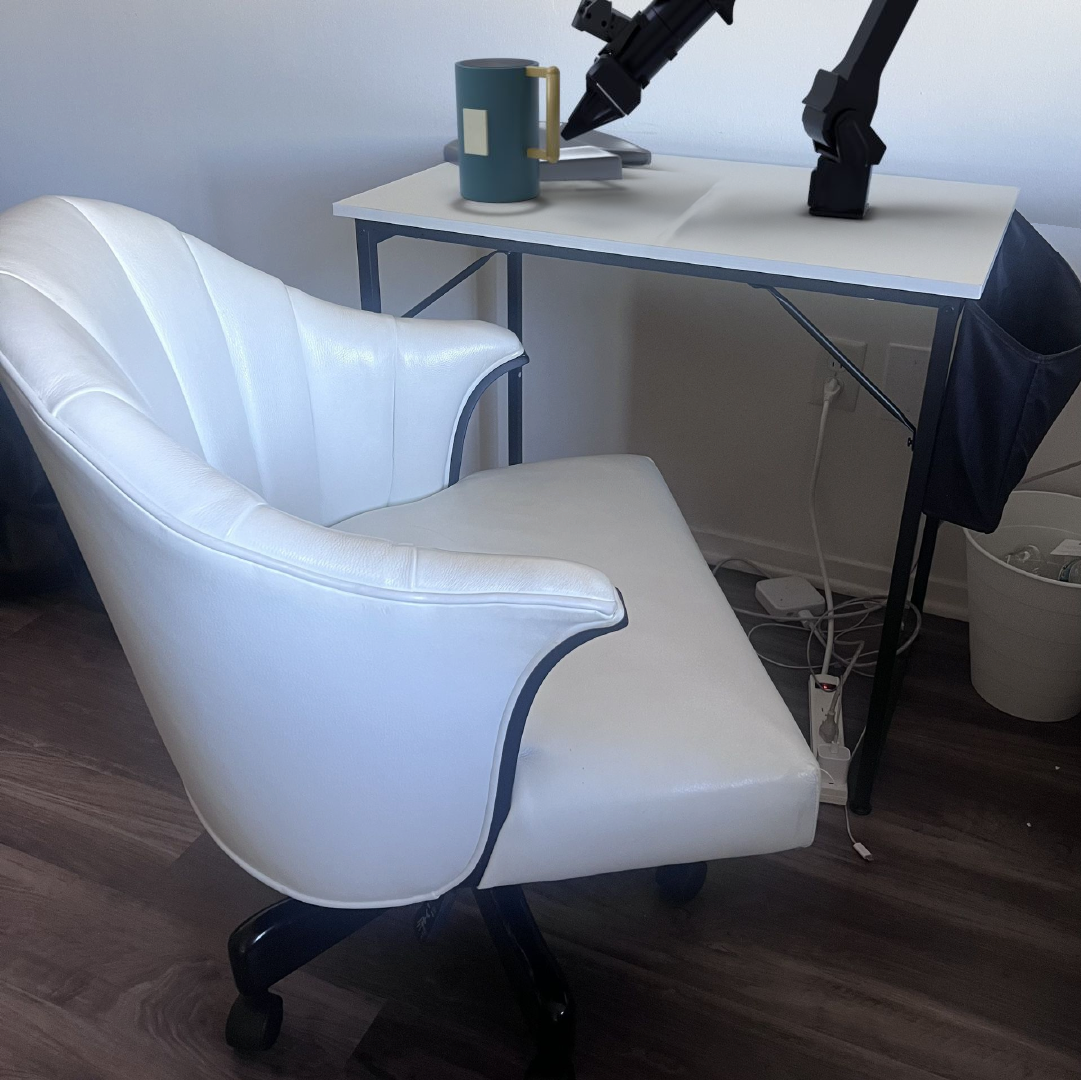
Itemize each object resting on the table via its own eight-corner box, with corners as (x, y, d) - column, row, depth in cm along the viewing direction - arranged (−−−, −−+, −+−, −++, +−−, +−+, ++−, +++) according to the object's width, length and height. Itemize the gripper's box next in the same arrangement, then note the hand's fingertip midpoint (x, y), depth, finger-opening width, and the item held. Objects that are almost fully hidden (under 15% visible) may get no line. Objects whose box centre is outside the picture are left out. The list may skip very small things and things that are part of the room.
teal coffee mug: (575, 201, 126) (576, 64, 118) (504, 213, 121) (501, 71, 113) (510, 180, 136) (508, 53, 128) (443, 191, 131) (436, 59, 123)
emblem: (676, 123, 149) (594, 158, 128) (674, 162, 152) (593, 202, 131) (507, 109, 161) (406, 139, 140) (508, 145, 163) (409, 180, 142)
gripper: (620, -39, 119) (527, 66, 126) (611, -31, 103) (505, 89, 110) (685, 37, 122) (591, 135, 129) (686, 56, 106) (578, 167, 113)
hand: (566, 130), depth 120 cm, fingers open, 9 cm apart
